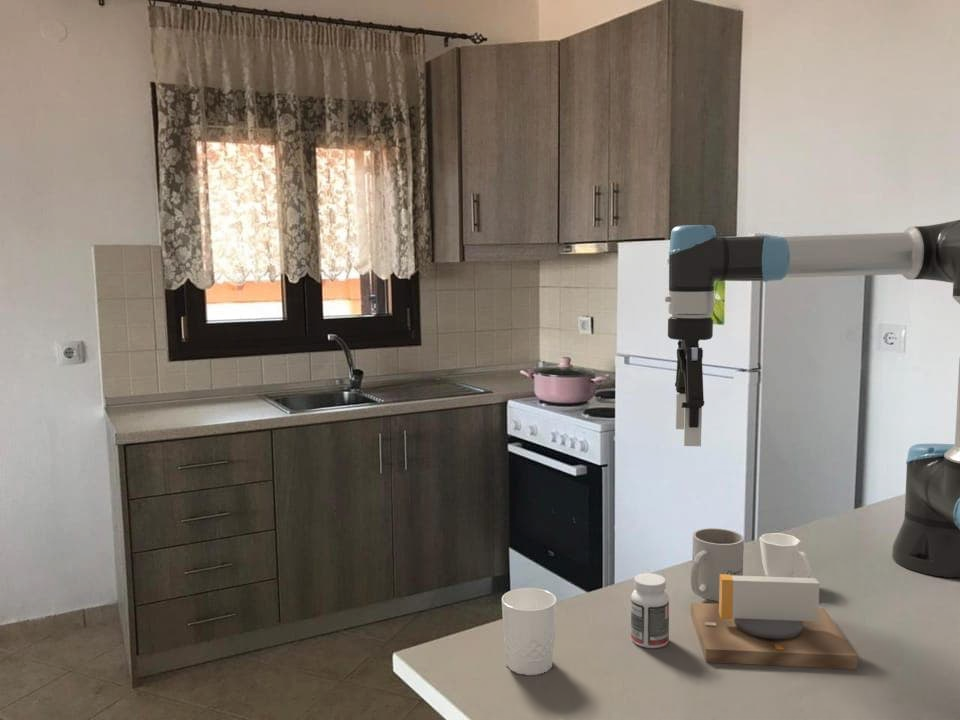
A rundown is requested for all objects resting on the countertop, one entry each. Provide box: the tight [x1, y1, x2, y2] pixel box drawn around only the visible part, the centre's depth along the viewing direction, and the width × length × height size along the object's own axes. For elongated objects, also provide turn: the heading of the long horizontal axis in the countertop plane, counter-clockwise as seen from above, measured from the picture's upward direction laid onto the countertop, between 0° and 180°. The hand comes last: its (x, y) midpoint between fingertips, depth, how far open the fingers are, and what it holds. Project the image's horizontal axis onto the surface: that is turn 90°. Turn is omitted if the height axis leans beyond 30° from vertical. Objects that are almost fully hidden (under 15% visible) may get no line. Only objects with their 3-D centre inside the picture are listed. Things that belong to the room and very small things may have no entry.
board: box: [690, 602, 858, 670], centre depth 123 cm, size 21×16×2 cm
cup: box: [758, 532, 812, 578], centre depth 144 cm, size 7×10×8 cm
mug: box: [690, 527, 745, 602], centre depth 140 cm, size 12×9×10 cm
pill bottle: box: [630, 572, 670, 649], centre depth 123 cm, size 6×6×10 cm
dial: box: [718, 574, 820, 639], centre depth 123 cm, size 14×10×7 cm
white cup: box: [501, 587, 557, 676], centre depth 117 cm, size 8×8×10 cm
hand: (687, 437), depth 141 cm, fingers open, 13 cm apart
